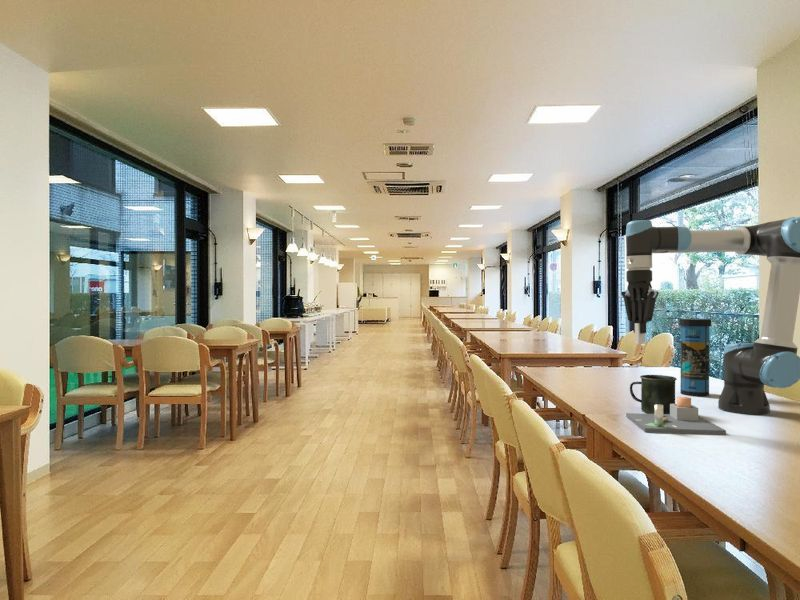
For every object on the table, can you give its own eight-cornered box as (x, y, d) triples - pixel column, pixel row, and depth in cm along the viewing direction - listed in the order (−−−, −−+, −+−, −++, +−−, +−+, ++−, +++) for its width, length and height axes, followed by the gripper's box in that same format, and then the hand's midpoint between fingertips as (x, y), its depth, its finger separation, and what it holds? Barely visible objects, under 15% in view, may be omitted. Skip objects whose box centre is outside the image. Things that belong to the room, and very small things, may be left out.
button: (688, 412, 174) (688, 396, 174) (693, 415, 170) (693, 399, 170) (674, 412, 174) (674, 396, 174) (679, 415, 170) (679, 398, 170)
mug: (675, 417, 178) (675, 380, 178) (627, 412, 186) (627, 377, 186) (677, 411, 188) (677, 376, 187) (631, 406, 195) (631, 373, 195)
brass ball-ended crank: (657, 418, 170) (657, 399, 170) (668, 419, 169) (668, 400, 169) (652, 425, 161) (652, 405, 161) (664, 426, 160) (664, 406, 160)
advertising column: (672, 392, 222) (672, 318, 222) (694, 391, 226) (694, 318, 225) (694, 397, 212) (695, 320, 211) (717, 395, 215) (718, 319, 215)
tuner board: (697, 418, 176) (697, 403, 176) (726, 434, 156) (726, 417, 156) (626, 416, 179) (626, 401, 179) (645, 432, 159) (645, 415, 159)
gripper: (614, 270, 179) (615, 342, 179) (647, 268, 167) (647, 346, 167) (632, 270, 182) (632, 341, 182) (664, 268, 170) (665, 344, 170)
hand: (639, 343), depth 174 cm, fingers closed
